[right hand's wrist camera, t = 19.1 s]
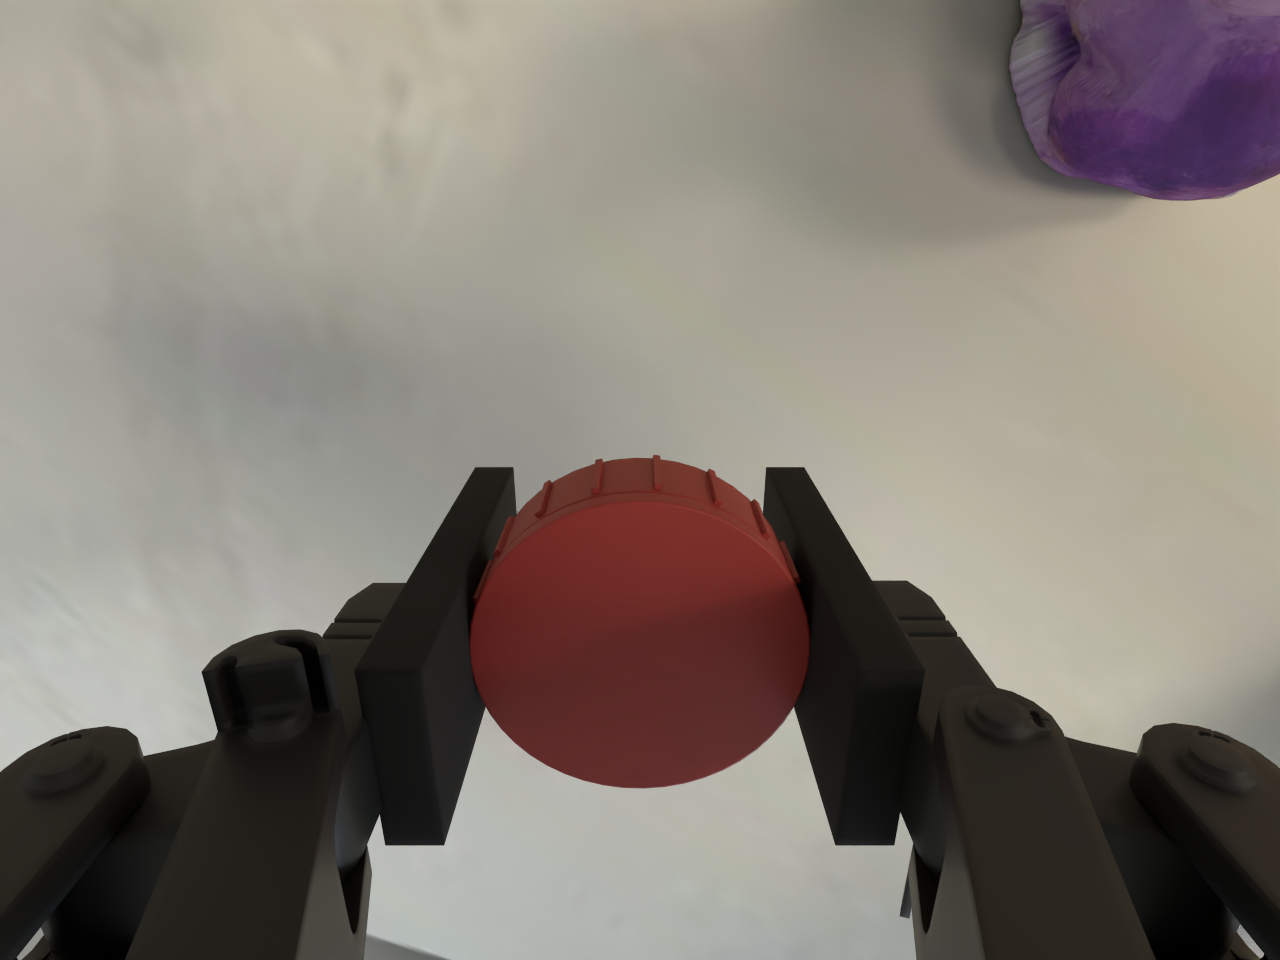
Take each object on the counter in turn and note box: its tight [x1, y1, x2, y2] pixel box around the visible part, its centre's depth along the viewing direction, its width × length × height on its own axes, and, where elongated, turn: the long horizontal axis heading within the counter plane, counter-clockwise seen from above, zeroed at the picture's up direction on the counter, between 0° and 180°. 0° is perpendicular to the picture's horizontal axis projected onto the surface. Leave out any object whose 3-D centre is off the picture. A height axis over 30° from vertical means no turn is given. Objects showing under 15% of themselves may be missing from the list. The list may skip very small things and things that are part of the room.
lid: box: [469, 455, 810, 788], centre depth 11 cm, size 5×5×2 cm
